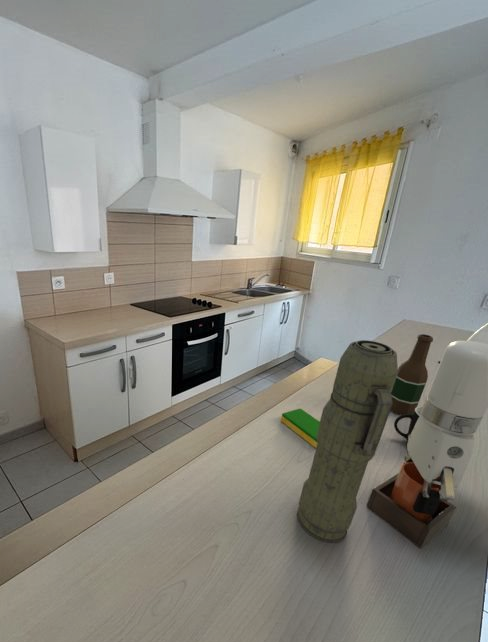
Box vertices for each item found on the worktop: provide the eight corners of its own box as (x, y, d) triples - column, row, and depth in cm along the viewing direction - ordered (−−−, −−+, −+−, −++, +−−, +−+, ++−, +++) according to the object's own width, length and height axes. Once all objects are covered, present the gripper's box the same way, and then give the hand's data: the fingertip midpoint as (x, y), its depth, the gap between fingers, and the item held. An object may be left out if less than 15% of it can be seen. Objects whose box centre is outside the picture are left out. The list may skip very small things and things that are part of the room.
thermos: (325, 493, 66) (372, 331, 52) (363, 547, 55) (434, 362, 42) (284, 497, 64) (322, 332, 51) (316, 554, 54) (374, 363, 40)
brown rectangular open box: (447, 524, 60) (456, 507, 59) (420, 548, 56) (429, 530, 54) (394, 487, 68) (400, 471, 67) (366, 505, 63) (372, 488, 62)
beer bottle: (390, 400, 103) (415, 329, 94) (417, 411, 98) (446, 337, 89) (380, 407, 99) (405, 334, 89) (408, 420, 93) (438, 342, 84)
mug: (442, 446, 82) (457, 413, 78) (446, 467, 75) (463, 431, 71) (388, 430, 88) (400, 398, 84) (388, 448, 81) (400, 414, 77)
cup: (434, 521, 61) (453, 481, 57) (415, 537, 58) (435, 495, 54) (397, 496, 66) (413, 457, 62) (378, 508, 63) (394, 469, 59)
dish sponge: (319, 451, 78) (321, 443, 77) (279, 420, 89) (281, 413, 88) (339, 443, 81) (341, 436, 80) (298, 415, 92) (300, 407, 91)
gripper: (510, 453, 45) (461, 542, 51) (450, 393, 60) (418, 468, 67) (449, 442, 46) (409, 530, 53) (405, 387, 62) (379, 460, 69)
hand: (414, 495), depth 60 cm, fingers closed on cup, 6 cm apart
